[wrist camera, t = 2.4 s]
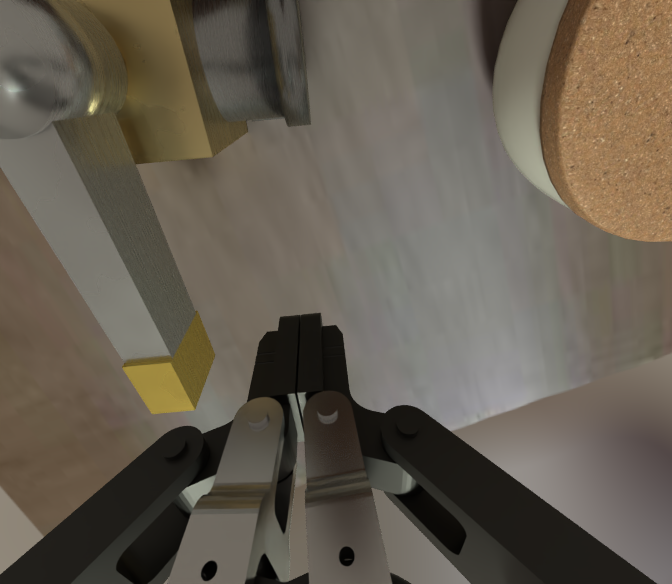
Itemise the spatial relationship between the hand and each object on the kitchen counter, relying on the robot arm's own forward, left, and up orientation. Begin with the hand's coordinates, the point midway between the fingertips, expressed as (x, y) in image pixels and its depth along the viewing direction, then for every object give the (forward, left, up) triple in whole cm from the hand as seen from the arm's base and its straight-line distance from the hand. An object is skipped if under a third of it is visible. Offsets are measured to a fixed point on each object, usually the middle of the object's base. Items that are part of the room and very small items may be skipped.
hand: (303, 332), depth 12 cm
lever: (+6, -4, -3) cm, 7 cm away
